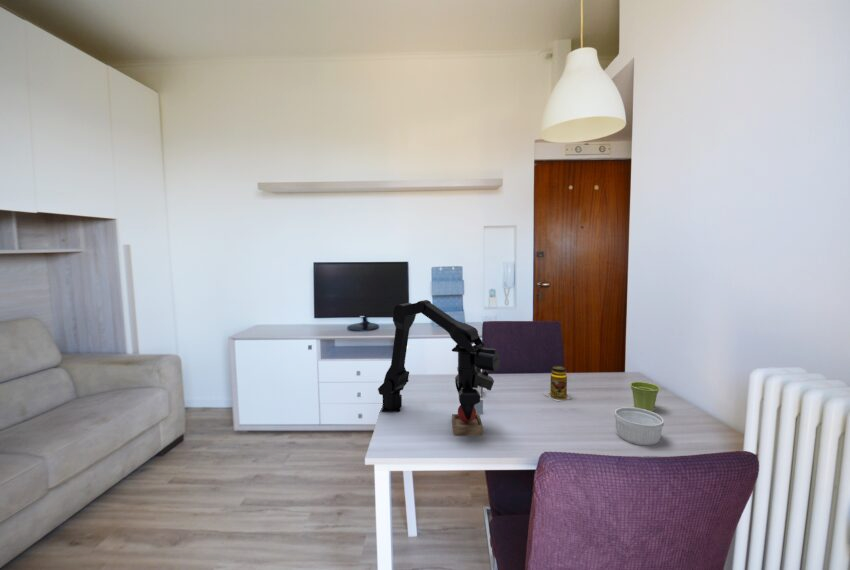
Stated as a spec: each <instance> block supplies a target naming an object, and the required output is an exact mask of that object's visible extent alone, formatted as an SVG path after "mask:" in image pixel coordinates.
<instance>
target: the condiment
mask: <svg viewBox="0 0 850 570" xmlns="http://www.w3.org/2000/svg"><path fill="white" fill-rule="evenodd" d="M567 390H568V375H567V368H566V367H565V366H560V365H554V366H552V367H551V373H550V391H549V392H547V393H543V395H544V396H546V397H548V398H550V399H552V400H554V401H556V402H561V401H567V400H570V399H572V397H570V396H568V395H567V393H568V392H567Z"/></svg>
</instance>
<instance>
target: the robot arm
mask: <svg viewBox="0 0 850 570" xmlns="http://www.w3.org/2000/svg"><path fill="white" fill-rule="evenodd" d="M418 314H422V315H423V316H425V317H427V318H428V319H429V320H431V321H432V322H434V324H436V325H437V326H439V327H440V328H441V329H443V330H445V331H446V332H447V334H449V336H450V338H451V340H452V341H453V342H454V343H456V345H455V346H454V347H453V348H452V349H451V351H452V352H453V353H454V352H455V353H457V367H456V368H457V369H456V370H457V375H456V376H455V377H454V382H455V388H456V391H457V394H458V401H459V405H461V407H462V409H463V412H464V414H465V417H466V419H467V420H470V418H471V414H472V411H473V407H474V405H475V404H478V403H479V402H480V394H479V392H478V391H477V390H476V389H473V388H478V386H480V387H483V388H484V389H486V390H487V391H491V390H492V389H493V386H494V382H495V380H494V378H493V377H492V376H491V375H489V371H491V372H498V370H499V369H500V365H501V357H500V354H499V352H498V348H489V347H486V345H485V343H484V341H483V340H482V339H481V337H480V336H479V331H478V329H477V328H475V326H472V325H471V324H468V323H465V322H461V321H458V320H456V319H455V318H453V317H452V316H450V315H449V314H448V313H446V312H445V311H443V310H442V309H440V308H439V307H437V306H436V305H435V304H433V303H432V302H431V301H430V300H428V299H423V300H419V301H417V302H415V303H411V302H407V303H402V304H397V305H395V306H394V307H393V309H392V322H393V324H394V327H395V331H394V339H393V344H392V345H393V346H392V354H391V362H390V367H388V370H387V371H386V373H385V375H384V380H383V383H382V384H381V385H380V386H379V387H378V388H377V391H378V394H379V395H381V396H382V409H381V412H383V413H384V412H387V413H388V412H389V413H390V412H401V408H402V405H403V402H402V401H403V397H402V394H401V391H403V390H404V388H405V386H406V385H407V383H408V382H409V377H410V371H409V370H408V371H407V370H406V367H405V364H406V356H407V349H408V341H409V334H410V328H411V327H412V325H413V323H414V322H415V320H416V316H417V315H418ZM473 344H474V345H473ZM476 367H477V368H478V369H481V373H480V372H479V373H478V372H477V371H476Z"/></svg>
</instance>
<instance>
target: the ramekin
mask: <svg viewBox="0 0 850 570" xmlns="http://www.w3.org/2000/svg"><path fill="white" fill-rule="evenodd" d="M614 419H615V429H616V433H617V434H618V436H619V437H620V438H621V439H623V440H624V441H626V442H628V443H631V444H634V445H639V446H654V445H656V444H657V443H659V442H660V440H661V436H662V431H663V427H664V424H665V420H664V418H663V417H662V416H661V415H660V414H658V413H656V412H654V411H648V410H645V409H640V408H635V407H634V406H633V407H632V406H624V407H619V408H616V409H615V410H614Z"/></svg>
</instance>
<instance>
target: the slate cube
mask: <svg viewBox="0 0 850 570" xmlns="http://www.w3.org/2000/svg"><path fill="white" fill-rule="evenodd" d="M474 408H475V410H476V414H479V415H480V414H483V413H484V400H483V398H482V397H481V398H480V402H479V403H478V404H475V405H474Z"/></svg>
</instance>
